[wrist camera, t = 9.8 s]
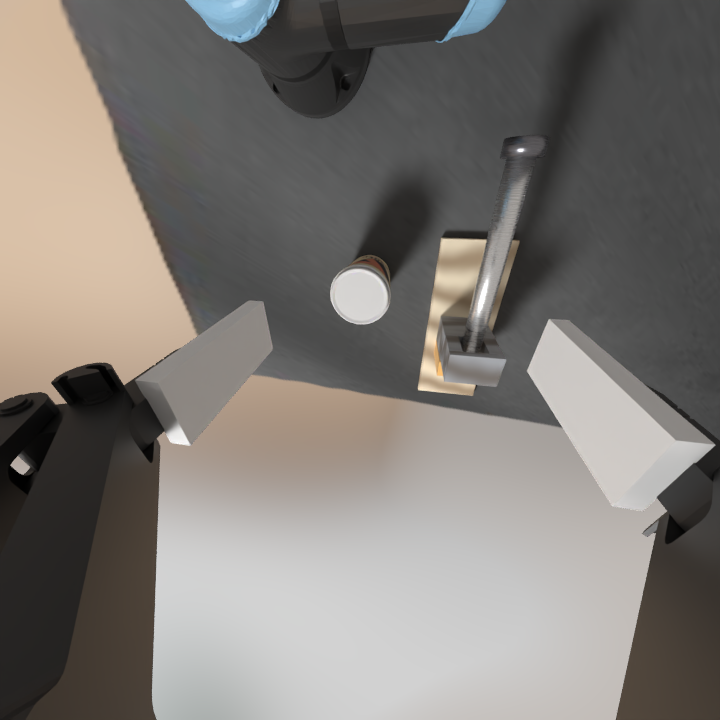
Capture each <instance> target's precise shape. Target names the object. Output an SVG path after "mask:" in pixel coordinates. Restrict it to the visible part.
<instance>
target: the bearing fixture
mask: <svg viewBox="0 0 720 720" xmlns="http://www.w3.org/2000/svg"><path fill="white" fill-rule="evenodd" d="M486 241H487V239H472V238H441V243H440V249H439V255H438V262H437V268H436V275H435V281H434V287H433V294H432V300H431V307H430V313H429V319H428V326H427V332H426V339H425V345H424V351H423V358H422V364H421V371H420V377H419V383H418V390H423V391H433V392H443V393H452V394H462V395H472V396H473V392H474V389H475V386H476V385H483V386H493V387H497V384H498V381H499V378H500V376H501V373H502V370H503V367H504V365H505V362H506V358H505V356H504V354H503V352H502V351H501V349H500V347H499V345H498V343H497V341H496V339H495V337H494V335H493V333H492V330H493V327H494V324H495V320H496V317H497V314H498V311H499V307H500V304H501V301H502V298H503V294H504V291H505V288H506V285H507V281H508V278H509V275H510V271H511V268H512V265H513V262H514V258H515V255H516V252H517V249H518V245H519V242H520V241H519V240H513V241H512V244H511V248H510V251H509V254H508V258H507V261H506V265H505V268H504V272H503V275H502V278H501V282H500V285H499V289H498V292H497V295H496V299H495V302H494V306H493V309H492V313H491V316H490V319H489V323H488V326H487V330H486V333H485V337H484V340H483V343H482V347H481V350H480V353H474V352H463V350H462V347H461V344H462V339H463V335H464V331H465V327H466V323H467V319H468V315H469V311H470V306H471V302H472V298H473V294H474V290H475V286H476V282H477V278H478V274H479V269H480V265H481V261H482V257H483V253H484V249H485V245H486ZM436 340H437V346H438V352H439V358H440V360H441V366H442V372H443V376H437V373H436V365H435V358H434V349H435V344H436Z"/></svg>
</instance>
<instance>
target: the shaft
mask: <svg viewBox="0 0 720 720" xmlns="http://www.w3.org/2000/svg"><path fill="white" fill-rule="evenodd" d="M549 140H550V136H545V135H528V136H517V137H510V138H506V139H504V142H503V146H502V151H501V155H500V158H501V159H506V162H505V166H504V171H503V175H502V179H501V183H500V187H499V191H498V195H497V199H496V204H495V208H494V212H493V216H492V220H491V224H490V228H489V232H488V236H487V241H486V245H485V249H484V253H483V257H482V261H481V265H480V269H479V274H478V278H477V282H476V286H475V290H474V294H473V298H472V302H471V306H470V311H469V315H468V319H467V323H466V327H465V331H464V335H463V339H462V344H461V347H462V350H463V352H474V353H480V350H481V347H482V343H483V340H484V337H485V333H486V330H487V326H488V323H489V319H490V316H491V313H492V309H493V306H494V302H495V299H496V295H497V292H498V289H499V285H500V282H501V278H502V275H503V272H504V268H505V265H506V261H507V258H508V254H509V251H510V248H511V244H512V241H513V237H514V234H515V230H516V227H517V224H518V220H519V217H520V213H521V210H522V206H523V203H524V200H525V196H526V193H527V189H528V186H529V183H530V179H531V176H532V172H533V169H534V165H535V162H536V159H537V158H541V157H544V156H545V153H546V150H547V147H548V143H549Z"/></svg>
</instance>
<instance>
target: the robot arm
mask: <svg viewBox="0 0 720 720" xmlns="http://www.w3.org/2000/svg"><path fill="white" fill-rule="evenodd" d="M186 1H187V2H188V4H189V5H190V6H191V7H192V8H193V9H194V10H195V11H196V12H197V13H198V14H199V15H200V16H201V17H202V18H203V19H204V20H205V22H206V23H207V25H208V26H209V27H210V28H211V29H212V30H213V31H214V32H215V33H216V34H218V35H219V36H222V37H223V38H224V39H226V38H227V39H228V40H229V41H230V42H232V43H233V44H234V45H235V46H237V47H238V48H239V49H240V50H242V51H243V52H244V53H245V54H247V55H248V56H249V57H250V58H252V59H253V60H254V61H255V62H257V63H258V64H259V67H260V69H261V72H262V74H263V76H264V78H265V80H266V81H267V83H268V85H269V86H270V88H271V89H272V91H273V92H274V93H275V95H276V96H277V97H278V98H279V99H280V100H281V101H282V102H283V103H284V104H285V105H287V106H288V107H289V108H291V109H292V110H294V111H295V112H297V113H299V114H301V115H303V116H306V117H310V118H325V117H329V116H331V115H334V114H336V113H337V112H339V111H340V110H342V109H343V108H344V107H345V106H346V105H347V104H348V103H349V102H350V101H351V100H352V98H353V97H354V96H355V94H356V93H357V91H358V89H359V87H360V85H361V83H362V81H363V78H364V76H365V73H366V69H367V66H368V61H369V56H370V49H371V47H380V46H390V45H399V44H409V43H418V42H428V41H436V42H438V43H443V41H447V40H449V39H450V38H451V37H456V36H462V35H467V34H472V33H477V32H479V31H480V30H482V29H484V28H485V27H486V26H487V25H489V24H490V23H491V22H492V21H493V20H494V19H495V17H496V16H497V15H498V13H499V12H500V11H501V9H502V8H503V6H504V4H505V3H506V1H507V0H186ZM272 350H273V346H272V342H271V337H270V332H269V327H268V322H267V317H266V313H265V308H264V303H263V301H248V302H246V303H245V304H243V305H242V306H240V307H239V308H238V309H236V310H235V311H233V312H232V313H230V314H229V315H228V316H226V317H225V318H223V319H222V320H220V321H219V322H217V323H216V324H215V325H213V326H212V327H210V328H209V329H207V330H206V331H205V332H203V333H202V334H200V335H199V336H197V337H196V338H195V339H193V340H192V341H190V342H189V343H187V344H186V345H184V346H183V347H182V348H179V349H177V350H175V351H173V352H172V353H170V354H169V355H168V356H166V357H165V358H164V359H162V360H160V361H159V362H157V363H156V365H153V366H152V367H150V368H149V369H147V370H146V371H145V372H143V373H142V374H140V375H139V376H137V377H136V378H134V379H133V380H131V381H130V382H128V383H127V384H126V385H123V383H122V382H121V380H120V379H119V377H118V375H117V374H116V372H115V370H114V369H113V367H112V366H111V365H110V364H108V363H93V364H87V365H84V366H81V367H77V368H74V369H72V370H69V371H67V372H65V373H63V374H61V375H60V376H58V377H56V378H55V379H54V380H53V381H52V382H51V383H52V385H53V386H54V387H55V388H56V390H57V391H58V392H59V394H60V395H61V396H62V397H63V398H64V400H65V401H66V402H67V404H58V405H56V404H55V403H54V402H53V401H52V400H51V399H50V398H49V396H48V395H47V394H45V393H42V392H38V393H29V394H25V395H18V396H15V397H14V398H9V399H7V400H5V401H4V402H2V403H0V720H156V717H155V714H154V711H153V705H152V669H153V668H152V667H153V640H154V612H155V582H156V554H157V551H156V550H157V523H158V496H159V465H160V464H159V463H160V445H159V442H158V440H157V439H156V438H157V437H158V436H159V435H160V434H162V433H163V432H165V433H166V435H167V437H168V438H169V440H170V442H171V443H175V444H182V445H189V446H191V445H192V444H193V442H194V441H195V440H196V439H197V438H198V436H199V435H200V434H201V433H202V432H203V431H204V430H205V428H206V427H207V426H208V425H209V424H210V422H211V421H212V420H213V419H214V418H215V416H216V415H217V414H218V413H219V412H220V411H221V410H222V408H223V407H224V406H225V405H226V404H227V402H228V401H229V400H230V399H231V398H232V397H233V396H234V394H235V393H236V392H237V391H238V390H239V388H240V387H241V386H242V385H243V384H244V383H245V381H246V380H247V379H248V378H249V377H250V376H251V374H252V373H253V372H254V371H255V370H256V369H257V367H258V366H259V365H260V364H261V363H262V362H263V360H264V359H265V358H266V357H267V356H268V355H269V353H270V352H271V351H272ZM527 372H528V373H529V375H530V377H531V378H532V380H533V381H534V383H535V385H536V386H537V388H538V389H539V391H540V393H541V394H542V396H543V397H544V399H545V400H546V402H547V404H548V405H549V407H550V408H551V410H552V412H553V413H554V415H555V416H556V418H557V420H558V421H559V423H560V424H561V426H562V427H563V429H564V430H565V432H566V434H567V435H568V437H569V439H570V440H571V442H572V443H573V445H574V447H575V448H576V450H577V451H578V453H579V454H580V456H581V458H582V459H583V461H584V462H585V464H586V465H587V467H588V469H589V470H590V472H591V474H592V475H593V477H594V478H595V480H596V482H597V483H598V485H599V486H600V488H601V489H602V491H603V492H604V494H605V496H606V497H607V499H608V501H609V502H610V504H611V505H612V507H619V508H625V509H632V510H639V511H644V510H645V509H646V508H647V507H648V506H649V505H650V504H651V503H653V502H654V501H655V500H656V499H658V500H659V501H660V502H661V504H662V505H663V506H664V507H665V509H666V510H667V512H666V513H665V514H664V515H662V516H661V517H660V518H659V519H657V520H656V521H655V522H654V523H653V524H651V525H650V526H649V527H648V528H647V529H646V530H645V531H644V532H643V535H645V536H647V537H648V536H650V535H651V534H652V533H656V536H655V541H654V545H653V550H652V554H651V559H650V564H649V569H648V573H647V577H646V582H645V587H644V591H643V596H642V601H641V605H640V610H639V615H638V619H637V624H636V628H635V633H634V638H633V642H632V648H631V652H630V656H629V661H628V666H627V670H626V675H625V680H624V684H623V689H622V693H621V698H620V703H619V707H618V713H617V717H616V720H720V441H719V440H718V439H717V438H716V437H714V436H713V435H712V434H711V433H710V432H708V431H707V430H706V429H705V428H704V427H702V426H701V425H700V424H699V423H697V422H696V421H695V420H694V419H690V416H689V415H688V414H686V413H685V412H684V411H683V410H682V409H678V408H677V407H678V406H677V405H676V404H674V403H673V402H672V401H671V400H669V399H668V398H667V397H666V396H665V395H663V394H662V393H660V392H658V391H656V390H654V389H653V388H651V387H649V386H647V385H645V384H643V383H642V382H641V381H640V380H638V379H637V378H636V377H635V376H634V375H633V374H631V373H630V372H629V371H628V370H627V369H625V368H624V367H623V366H622V365H621V364H620V363H618V362H617V361H616V360H615V359H614V358H612V357H611V356H610V355H609V354H608V353H607V352H605V351H604V350H603V349H602V348H601V347H599V346H598V345H597V344H596V343H595V342H594V341H592V340H591V339H590V338H589V337H588V336H586V335H585V334H584V333H583V332H582V331H581V330H579V329H578V328H577V327H576V326H575V325H573V324H572V323H571V322H570V321H569V320H557V319H549V320H548V323H547V325H546V327H545V330H544V332H543V334H542V337H541V339H540V342H539V344H538V346H537V349H536V351H535V353H534V356H533V358H532V361H531V363H530V365H529V368H528V370H527ZM17 456H19V457H20V458H21V459H22V460H23V461H24V462H25V463H27V464H28V465H29V466H30V469H29V470H28V471H27V472H26V473H25V474H24V475H21V474H19V473H18V472H17V471H16V470H14V469H13V468H12V467H11V466H10V465H11V463H12V462H13V460H14V459H15V458H16V457H17Z"/></svg>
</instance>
